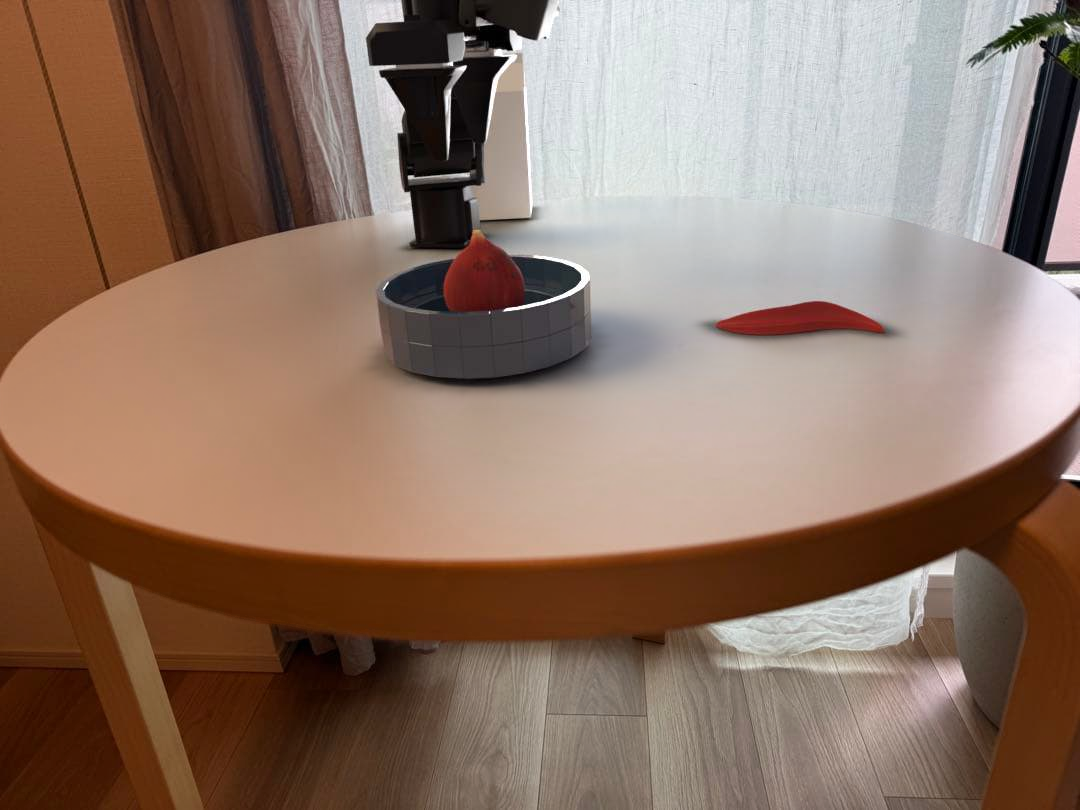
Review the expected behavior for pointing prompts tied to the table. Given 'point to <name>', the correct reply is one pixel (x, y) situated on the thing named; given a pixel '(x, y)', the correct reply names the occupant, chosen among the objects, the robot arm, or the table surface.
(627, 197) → the table surface
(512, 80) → the milk carton
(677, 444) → the table surface
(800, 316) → the cayenne pepper
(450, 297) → the onion
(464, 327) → the bowl
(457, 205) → the robot arm
